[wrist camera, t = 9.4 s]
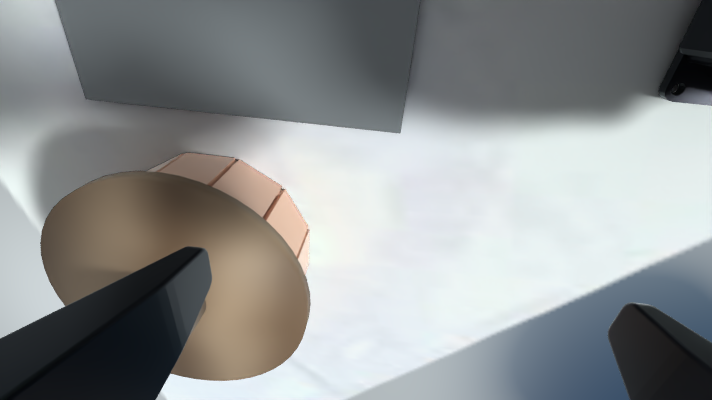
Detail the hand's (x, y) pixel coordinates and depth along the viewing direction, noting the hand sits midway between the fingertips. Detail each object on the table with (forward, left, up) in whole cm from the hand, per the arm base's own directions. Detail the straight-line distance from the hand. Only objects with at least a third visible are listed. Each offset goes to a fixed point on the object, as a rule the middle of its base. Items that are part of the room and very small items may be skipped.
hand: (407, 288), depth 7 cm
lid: (+10, +8, -6) cm, 14 cm away
